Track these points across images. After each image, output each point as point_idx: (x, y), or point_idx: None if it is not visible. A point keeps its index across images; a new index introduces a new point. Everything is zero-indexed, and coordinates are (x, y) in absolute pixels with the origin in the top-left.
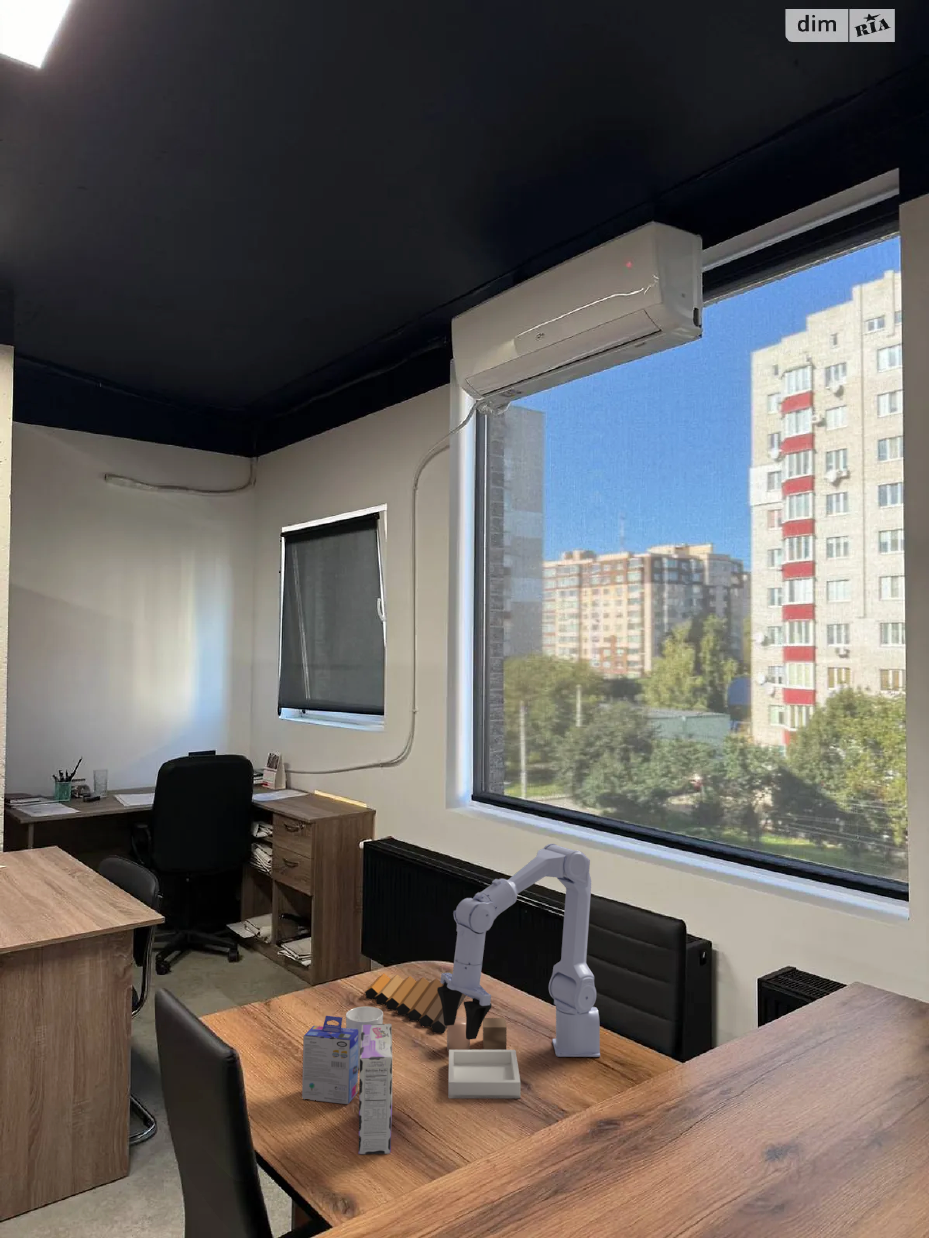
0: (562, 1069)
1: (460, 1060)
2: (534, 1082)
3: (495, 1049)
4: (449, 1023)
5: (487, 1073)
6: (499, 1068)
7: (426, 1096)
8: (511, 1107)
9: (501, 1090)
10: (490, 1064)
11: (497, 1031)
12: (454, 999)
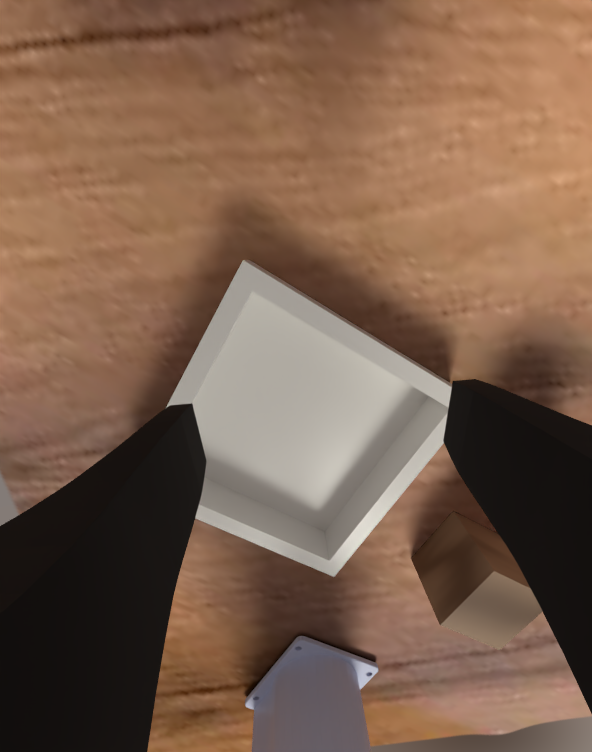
0: (237, 614)
1: (421, 415)
2: (210, 531)
3: (432, 538)
4: (453, 413)
5: (310, 448)
6: (318, 492)
7: (301, 190)
8: (104, 409)
9: None
10: (354, 483)
11: (453, 590)
12: (590, 606)
